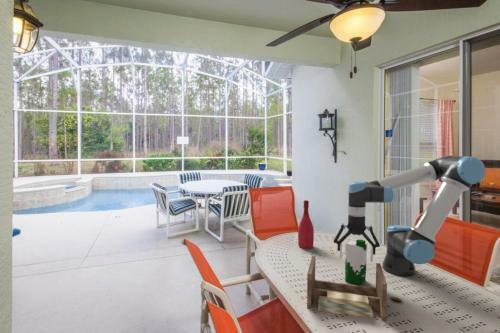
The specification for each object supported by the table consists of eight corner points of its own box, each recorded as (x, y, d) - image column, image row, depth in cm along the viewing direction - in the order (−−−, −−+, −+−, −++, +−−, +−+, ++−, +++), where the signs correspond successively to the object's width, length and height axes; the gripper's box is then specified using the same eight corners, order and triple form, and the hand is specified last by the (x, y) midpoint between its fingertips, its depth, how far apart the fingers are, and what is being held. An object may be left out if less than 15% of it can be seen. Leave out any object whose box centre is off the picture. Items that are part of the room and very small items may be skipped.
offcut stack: (370, 310, 110) (370, 295, 110) (373, 319, 104) (373, 303, 104) (317, 304, 114) (318, 290, 114) (318, 312, 109) (318, 297, 109)
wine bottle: (313, 249, 174) (314, 202, 172) (297, 248, 176) (298, 201, 174) (313, 244, 184) (313, 199, 182) (298, 243, 186) (298, 198, 184)
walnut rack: (379, 295, 121) (380, 263, 120) (385, 321, 103) (387, 284, 102) (311, 285, 129) (312, 255, 128) (307, 307, 111) (307, 273, 110)
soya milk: (362, 287, 127) (363, 244, 126) (342, 281, 133) (343, 240, 132) (367, 280, 134) (369, 239, 133) (349, 275, 140) (349, 235, 138)
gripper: (328, 215, 132) (328, 259, 133) (387, 218, 124) (386, 265, 125) (329, 211, 139) (328, 253, 140) (384, 214, 131) (383, 259, 132)
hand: (355, 259), depth 133 cm, fingers open, 13 cm apart
